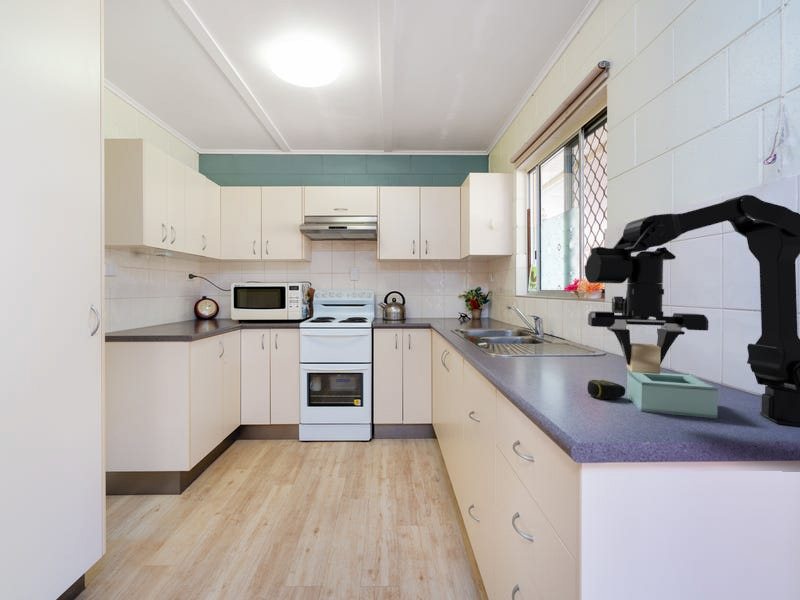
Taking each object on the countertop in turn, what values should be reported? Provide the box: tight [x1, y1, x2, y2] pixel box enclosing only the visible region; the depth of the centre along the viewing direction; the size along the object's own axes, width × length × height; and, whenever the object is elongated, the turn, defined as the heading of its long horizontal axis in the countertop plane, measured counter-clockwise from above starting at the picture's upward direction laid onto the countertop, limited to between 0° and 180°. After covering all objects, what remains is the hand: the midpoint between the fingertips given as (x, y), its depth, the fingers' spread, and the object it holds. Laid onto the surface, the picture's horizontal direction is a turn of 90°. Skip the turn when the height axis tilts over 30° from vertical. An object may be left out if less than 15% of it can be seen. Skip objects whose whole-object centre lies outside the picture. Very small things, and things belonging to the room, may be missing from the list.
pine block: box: [626, 342, 661, 374], centre depth 74 cm, size 4×4×5 cm
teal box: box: [626, 370, 719, 419], centre depth 84 cm, size 13×13×6 cm
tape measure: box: [586, 379, 626, 400], centre depth 91 cm, size 7×7×4 cm
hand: (642, 365), depth 74 cm, fingers closed on pine block, 4 cm apart
